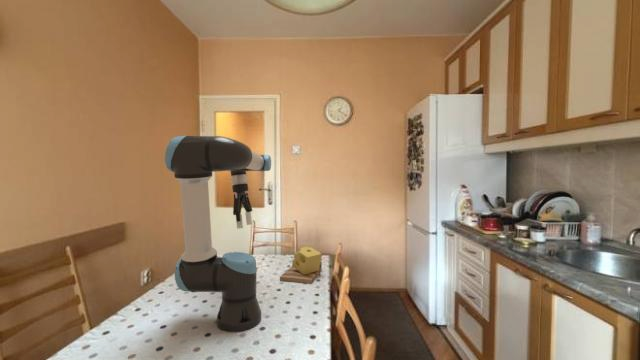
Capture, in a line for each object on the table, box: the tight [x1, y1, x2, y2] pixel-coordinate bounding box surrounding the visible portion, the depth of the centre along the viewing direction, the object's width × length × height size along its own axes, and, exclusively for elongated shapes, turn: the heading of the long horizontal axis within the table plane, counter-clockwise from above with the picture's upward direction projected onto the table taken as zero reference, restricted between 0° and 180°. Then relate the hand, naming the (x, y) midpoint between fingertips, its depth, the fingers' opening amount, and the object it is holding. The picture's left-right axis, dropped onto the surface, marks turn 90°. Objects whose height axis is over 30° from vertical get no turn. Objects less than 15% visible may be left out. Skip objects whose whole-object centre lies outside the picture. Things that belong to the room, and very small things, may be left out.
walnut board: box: [279, 258, 323, 285], centre depth 149 cm, size 20×16×5 cm
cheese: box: [291, 245, 322, 275], centre depth 149 cm, size 10×11×10 cm
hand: (245, 226), depth 143 cm, fingers open, 13 cm apart
